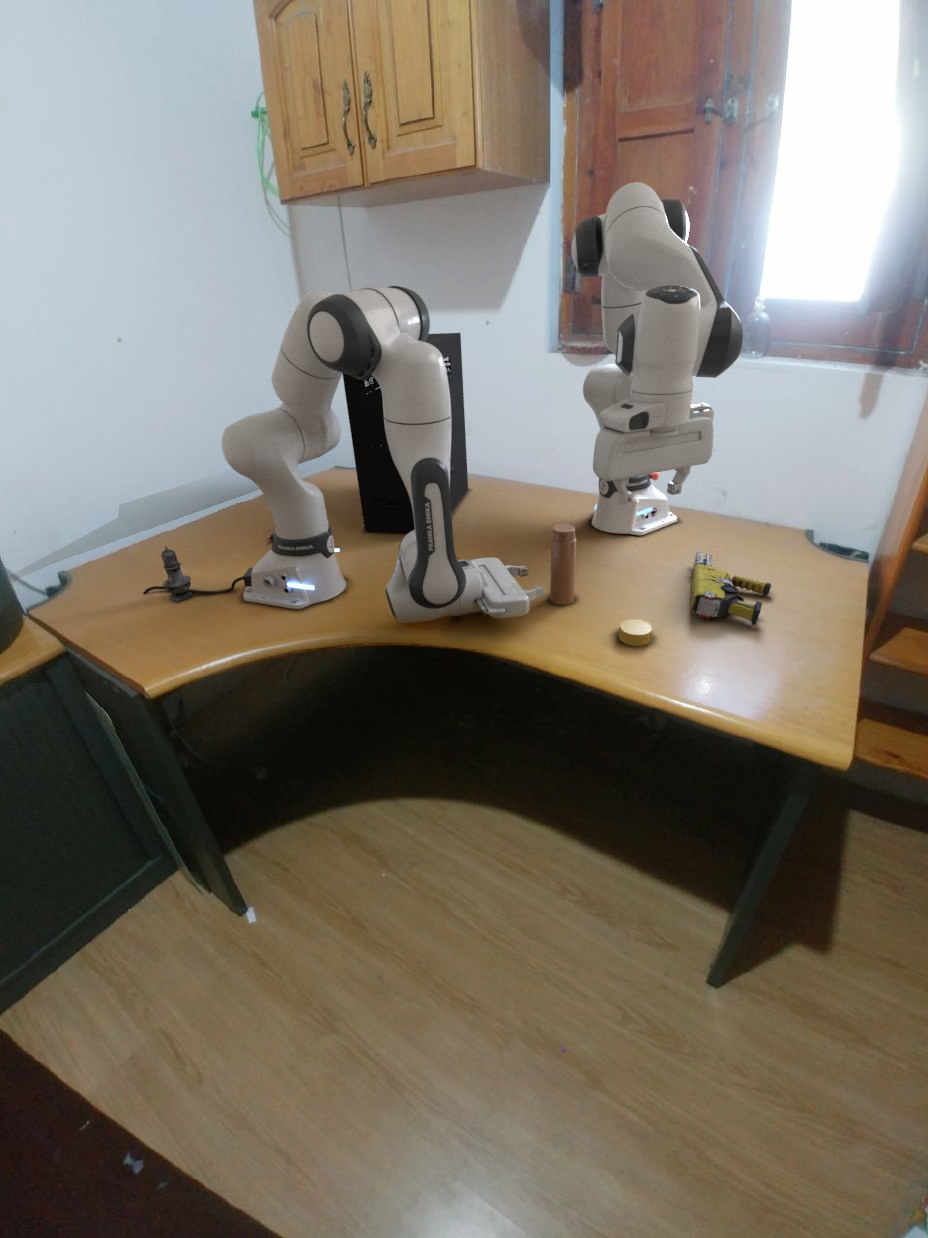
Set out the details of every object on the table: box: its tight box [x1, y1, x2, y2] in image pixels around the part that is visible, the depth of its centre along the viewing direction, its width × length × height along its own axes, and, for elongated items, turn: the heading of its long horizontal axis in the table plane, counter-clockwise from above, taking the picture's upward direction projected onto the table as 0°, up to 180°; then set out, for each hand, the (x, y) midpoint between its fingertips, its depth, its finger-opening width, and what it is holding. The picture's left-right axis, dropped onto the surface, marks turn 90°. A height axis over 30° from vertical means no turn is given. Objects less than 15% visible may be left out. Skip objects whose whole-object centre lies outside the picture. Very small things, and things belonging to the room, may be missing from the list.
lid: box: [618, 618, 653, 647], centre depth 110 cm, size 6×6×2 cm
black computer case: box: [342, 332, 469, 534], centre depth 166 cm, size 38×20×45 cm, turn 167°
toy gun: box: [690, 551, 772, 626], centre depth 121 cm, size 5×24×15 cm
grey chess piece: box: [160, 546, 195, 602], centre depth 132 cm, size 6×6×12 cm
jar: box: [549, 523, 577, 606], centre depth 121 cm, size 5×5×16 cm
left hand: (535, 580), depth 122 cm, fingers open, 8 cm apart
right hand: (649, 498), depth 98 cm, fingers open, 8 cm apart
